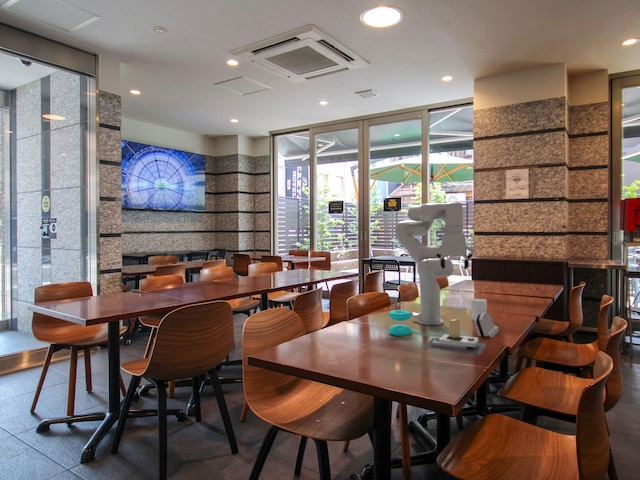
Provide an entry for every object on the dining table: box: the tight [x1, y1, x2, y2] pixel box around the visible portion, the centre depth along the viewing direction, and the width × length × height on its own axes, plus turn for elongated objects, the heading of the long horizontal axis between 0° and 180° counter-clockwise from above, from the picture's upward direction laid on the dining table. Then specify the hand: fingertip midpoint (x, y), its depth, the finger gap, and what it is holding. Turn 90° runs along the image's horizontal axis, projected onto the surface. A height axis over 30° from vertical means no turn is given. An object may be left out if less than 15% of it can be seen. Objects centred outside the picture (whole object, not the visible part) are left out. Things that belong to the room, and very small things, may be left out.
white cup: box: [469, 298, 488, 321], centre depth 206 cm, size 8×8×10 cm
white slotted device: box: [473, 312, 500, 339], centre depth 178 cm, size 17×5×10 cm, turn 145°
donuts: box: [388, 309, 413, 337], centre depth 180 cm, size 10×10×10 cm
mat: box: [422, 337, 487, 356], centre depth 158 cm, size 21×16×1 cm
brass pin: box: [448, 318, 461, 340], centre depth 158 cm, size 4×4×10 cm
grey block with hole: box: [431, 334, 479, 350], centre depth 158 cm, size 16×9×4 cm, turn 60°
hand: (454, 268), depth 180 cm, fingers open, 9 cm apart
